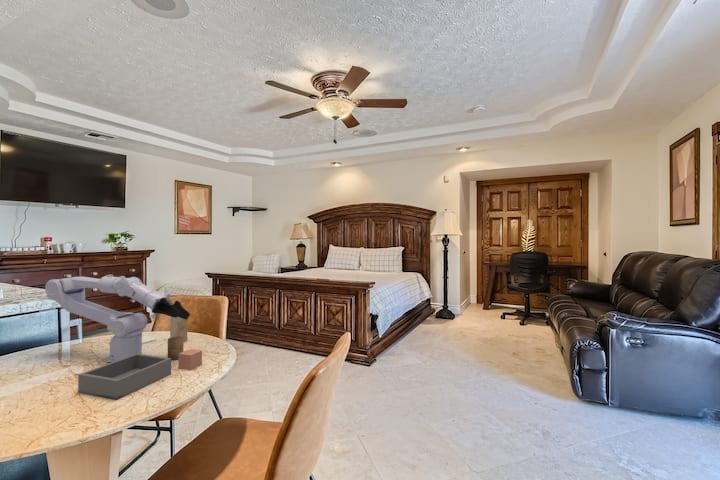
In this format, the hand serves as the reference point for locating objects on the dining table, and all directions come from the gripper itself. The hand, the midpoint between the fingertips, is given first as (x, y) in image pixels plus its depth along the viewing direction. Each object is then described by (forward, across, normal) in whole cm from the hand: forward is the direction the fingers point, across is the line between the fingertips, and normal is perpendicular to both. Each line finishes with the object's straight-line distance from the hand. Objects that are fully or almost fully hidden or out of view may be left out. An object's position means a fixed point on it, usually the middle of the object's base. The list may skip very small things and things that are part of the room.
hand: (183, 315), depth 117 cm
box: (-8, +28, +14) cm, 32 cm away
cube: (+10, +3, +13) cm, 17 cm away
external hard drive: (-23, +26, +22) cm, 41 cm away
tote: (+1, -9, +22) cm, 24 cm away
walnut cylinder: (+1, +11, +15) cm, 18 cm away
